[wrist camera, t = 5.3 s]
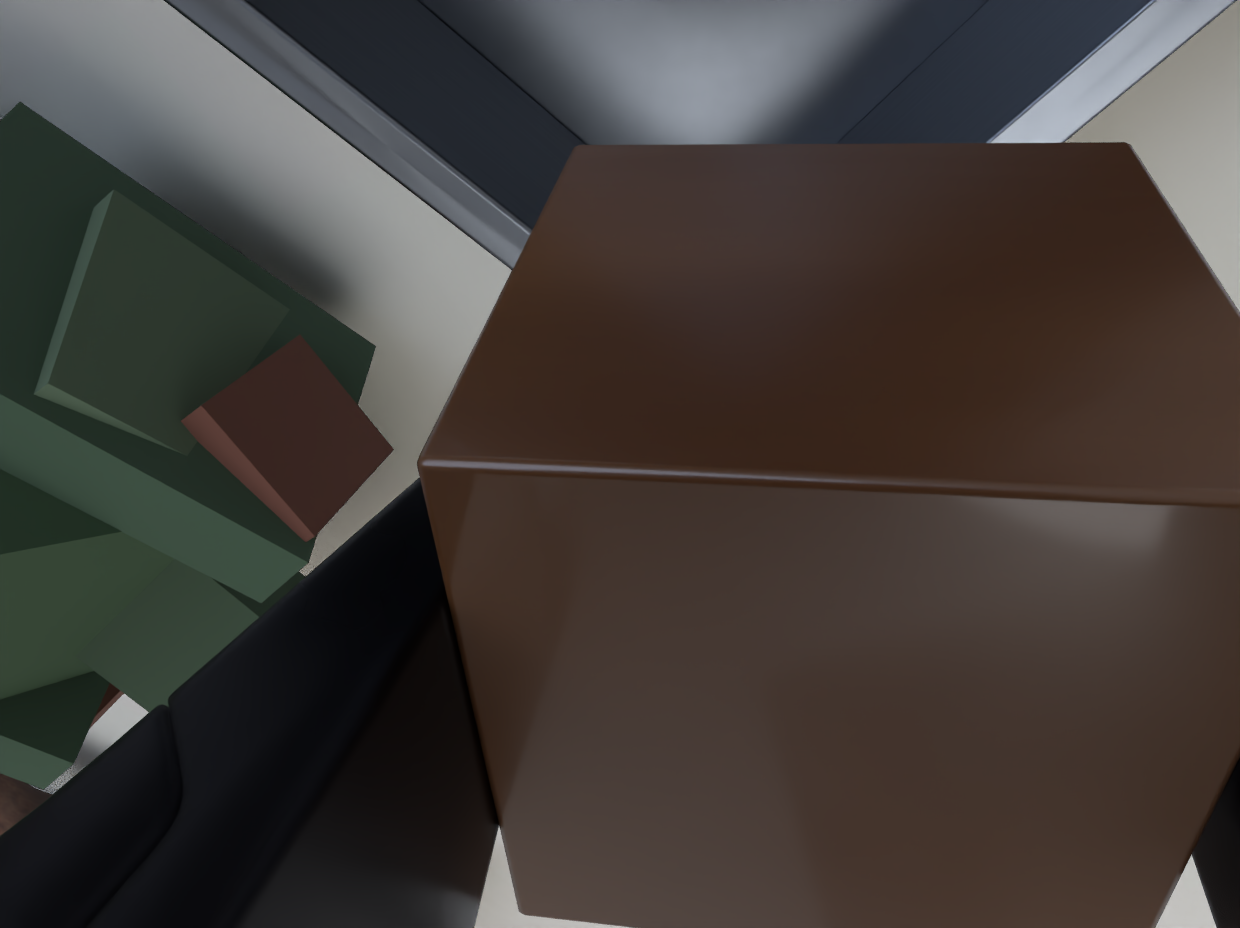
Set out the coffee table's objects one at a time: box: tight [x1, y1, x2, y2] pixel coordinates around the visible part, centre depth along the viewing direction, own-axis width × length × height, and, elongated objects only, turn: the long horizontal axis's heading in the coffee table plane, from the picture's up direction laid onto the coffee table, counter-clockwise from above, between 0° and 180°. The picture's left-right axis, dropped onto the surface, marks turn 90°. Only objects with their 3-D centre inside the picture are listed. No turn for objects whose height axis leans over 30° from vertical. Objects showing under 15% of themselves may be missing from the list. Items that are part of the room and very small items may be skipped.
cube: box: [417, 142, 1240, 928], centre depth 8 cm, size 4×4×4 cm
